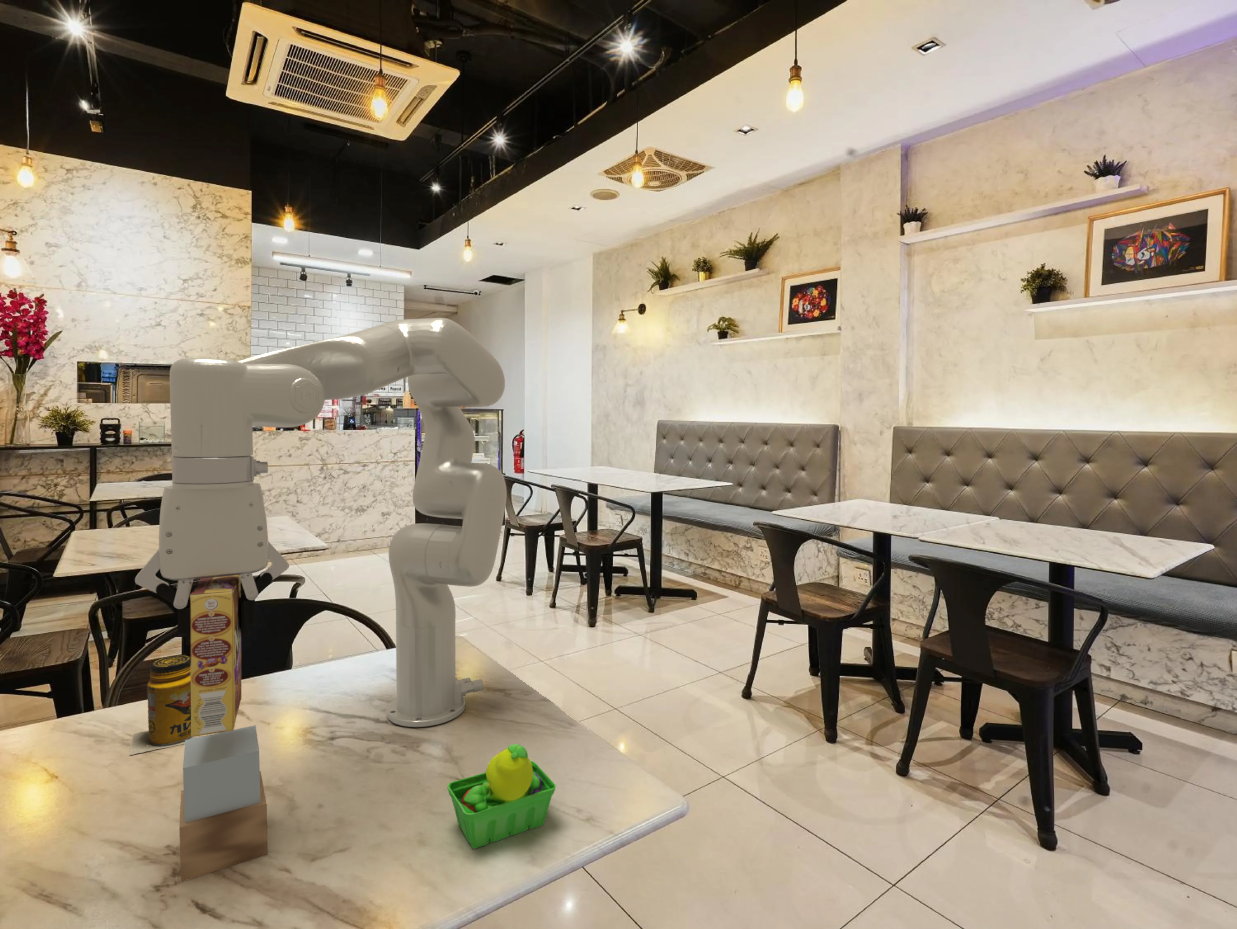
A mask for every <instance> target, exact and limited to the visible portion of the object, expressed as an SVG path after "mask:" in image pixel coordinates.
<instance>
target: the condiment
mask: <svg viewBox="0 0 1237 929" xmlns="http://www.w3.org/2000/svg"><path fill="white" fill-rule="evenodd" d="M149 670H150V673H149V678H150V679H149V680H148V682H147V684H146V689H147V713H148V715H147V724H148V726H147V727H148V730H146V731H139V732H134V733H133V735H132V742H131V746H130V752H129V756H131V755H132V756H133V755H135V754H142V753H145V752H150V751H151V752H152V751H155V750H160V749H166V748H171V747H175V746H181V745H185V740H188V739H192V738H197V737H201V736H193V737H192V736H191V656H188V655H181V654H180V655H170V656H165V657H162V658H158V659H157V660H155V661H153V662H151V663H150V666H149Z"/></svg>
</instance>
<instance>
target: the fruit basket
mask: <svg viewBox="0 0 1237 929" xmlns="http://www.w3.org/2000/svg"><path fill="white" fill-rule="evenodd" d="M528 756H529V755H528V751H527V749H526V748H525V747H524V746H521V744H517V743H512V744H510V745H509V746H508V747H507V748H504V749H503V750H502V751H500V752H498V753H497V754H496V755H495V756H493V757H492V758H491V759H490V760H489V762H488V764H487V767H486V771H485V772H482V773H478V774H476V775H473V776H468V777H465V778H461V779H457V780H454V781H451V782H449V783H448V784H447V786H446V787H447V790H448V795H449V796H450V798H451V802H452V804H453V809H454V812H455V815H456V816H455V817H456V820H457V824H458V827H459V828H460V829H461V830H462V833H463V835H464V837H465V838H466V840H467V841H468V842H469V843H470V846H471V848H472V849H473V850H474V849H478V848H481V847H484V846H486V845H488V844H489V843H495V842H498V841H500V840H503V839H506V838H508V837H509V836H515V835H518V834H521V833H524V832H526V831H527V830H528V829H529V830H531V829H535V828H538V827H541V826H543V825H544V824H545V821H546V817H547V814H548V810H549V807H550V803H551V799H552V796H553V795H554V794H555V791H556V787H557V786H556V783H555V782H554V781H552V779H551V778H550V777H549V775H547V774H546V772H544V770H543V769H542V767H540V766H539V765H538V764H537V763H536V762H534V761H533V760H531V759H530V758H529V757H528Z"/></svg>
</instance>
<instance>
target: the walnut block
mask: <svg viewBox="0 0 1237 929" xmlns="http://www.w3.org/2000/svg"><path fill="white" fill-rule="evenodd" d="M179 802H180V803H179V804H180V805H179V807H180V810H179V856H180V857H179V858H180V859H179V862H180V882H181V881H182V882H185V881H188V880H190V879H191V878H192V879H195V878H197V877H201V876H204V875H207V874H210V873H213V872H217V871H220V870H223V869H226V868H230V867H232V866H235V865H238V864H242V863H246V862H249V861H251V860H255V859H258V858H261V857H265V856H267V855H269V854H268V853H269V852H268V851H269V850H268V813H267V812H268V811H267V809H268V808H267V807H268V805H267V799H266V793H265V789H264V782H263V776H262V771H261V770H260V803H258V804H254V805H250V806H247V807H243V808H239V809H236V810H232V811H228V812H224V813H221V814H217V815H213V816H209V817H206V818H202V819H198V820H194V821H191V822H187V823H185V818H184V789H182V790H180V801H179ZM194 877H195V878H194ZM187 879H188V880H187ZM192 879H191V880H192ZM184 880H185V881H184Z"/></svg>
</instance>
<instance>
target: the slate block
mask: <svg viewBox="0 0 1237 929" xmlns="http://www.w3.org/2000/svg"><path fill="white" fill-rule="evenodd" d="M256 726H257V725H251V726H245V727H241V728H237V729H235V728H234V730H232V731H226V732H221V733H214V734H208V735H201V736H200V737H197V738H192V739H188V740H185V744H184V750H183V752H184V753H183V762H182V777H183V778H182V781H183V790H184V818H185V823H187V822H191V821H194V820H198V819H202V818H206V817H209V816H213V815H217V814H221V813H224V812H228V811H232V810H236V809H239V808H243V807H247V806H250V805H254V804H258V803H260V771H261V770H260V769H261V768H260V767H261V766H260V746H259V741H258V731H257V727H256Z"/></svg>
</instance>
